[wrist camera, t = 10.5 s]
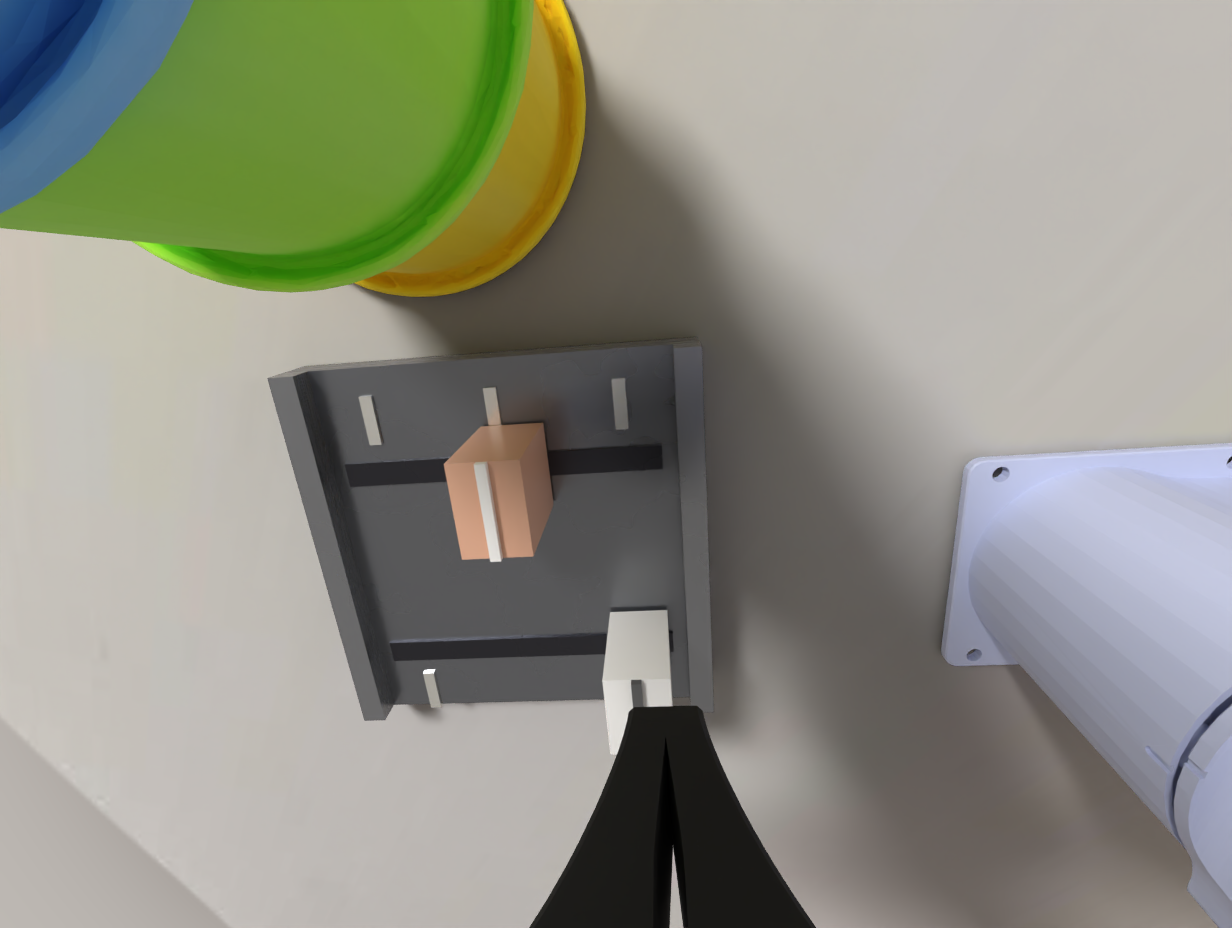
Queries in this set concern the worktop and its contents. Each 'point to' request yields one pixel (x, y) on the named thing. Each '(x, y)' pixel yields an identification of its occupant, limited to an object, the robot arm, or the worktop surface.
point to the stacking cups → (295, 134)
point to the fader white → (635, 667)
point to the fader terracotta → (500, 491)
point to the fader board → (569, 546)
